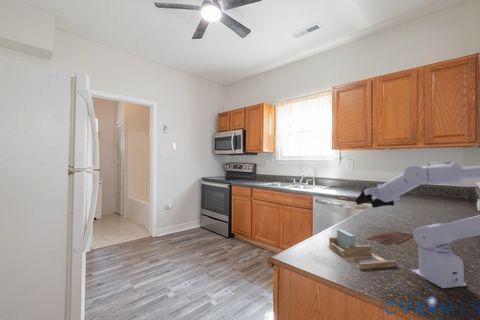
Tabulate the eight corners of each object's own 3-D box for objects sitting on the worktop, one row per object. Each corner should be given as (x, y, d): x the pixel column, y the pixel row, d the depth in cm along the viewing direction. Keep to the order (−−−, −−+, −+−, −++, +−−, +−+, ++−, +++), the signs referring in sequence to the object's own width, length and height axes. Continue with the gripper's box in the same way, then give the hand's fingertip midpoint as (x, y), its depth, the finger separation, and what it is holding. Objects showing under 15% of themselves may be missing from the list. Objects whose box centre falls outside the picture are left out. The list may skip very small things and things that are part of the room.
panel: (355, 255, 80) (354, 235, 80) (350, 255, 80) (350, 236, 80) (341, 246, 88) (341, 229, 88) (337, 247, 88) (337, 229, 88)
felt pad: (387, 265, 72) (387, 264, 72) (365, 267, 71) (365, 266, 71) (373, 257, 78) (373, 256, 78) (353, 259, 77) (353, 258, 77)
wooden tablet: (394, 228, 110) (417, 231, 102) (394, 233, 110) (418, 236, 101) (363, 238, 97) (387, 242, 88) (364, 243, 97) (388, 248, 88)
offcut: (360, 249, 85) (360, 245, 85) (353, 250, 85) (353, 246, 85) (354, 246, 88) (354, 242, 88) (347, 246, 88) (347, 242, 88)
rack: (396, 267, 71) (396, 255, 71) (360, 271, 69) (360, 258, 69) (355, 245, 91) (355, 235, 91) (326, 247, 89) (326, 237, 89)
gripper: (405, 181, 80) (375, 197, 90) (373, 174, 76) (347, 191, 87) (414, 199, 76) (382, 213, 86) (381, 192, 72) (352, 208, 83)
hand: (364, 203), depth 86 cm, fingers open, 7 cm apart
